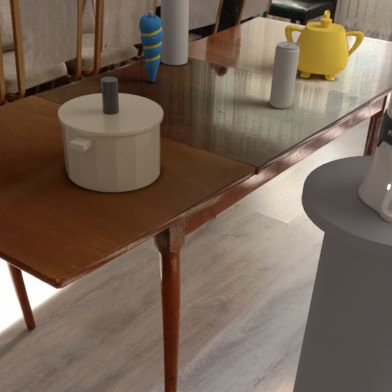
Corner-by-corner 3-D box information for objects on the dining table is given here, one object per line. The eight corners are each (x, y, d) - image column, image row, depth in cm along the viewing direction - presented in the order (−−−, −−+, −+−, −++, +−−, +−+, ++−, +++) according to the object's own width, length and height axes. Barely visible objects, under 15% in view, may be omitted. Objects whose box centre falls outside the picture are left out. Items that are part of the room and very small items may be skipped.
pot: (181, 156, 112) (183, 102, 106) (125, 208, 97) (122, 150, 91) (104, 138, 117) (101, 86, 110) (39, 185, 102) (31, 129, 96)
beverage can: (265, 106, 132) (272, 45, 124) (273, 99, 135) (280, 39, 127) (287, 111, 130) (295, 49, 122) (295, 103, 133) (303, 43, 125)
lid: (180, 111, 105) (181, 72, 101) (132, 149, 93) (131, 107, 89) (93, 93, 109) (90, 55, 105) (37, 127, 98) (32, 86, 94)
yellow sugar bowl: (361, 76, 148) (372, 21, 140) (318, 87, 142) (327, 30, 134) (319, 59, 156) (328, 7, 149) (277, 69, 150) (283, 14, 142)
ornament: (155, 87, 137) (154, 12, 128) (135, 83, 139) (133, 8, 129) (167, 81, 141) (168, 7, 131) (148, 76, 143) (147, 3, 133)
